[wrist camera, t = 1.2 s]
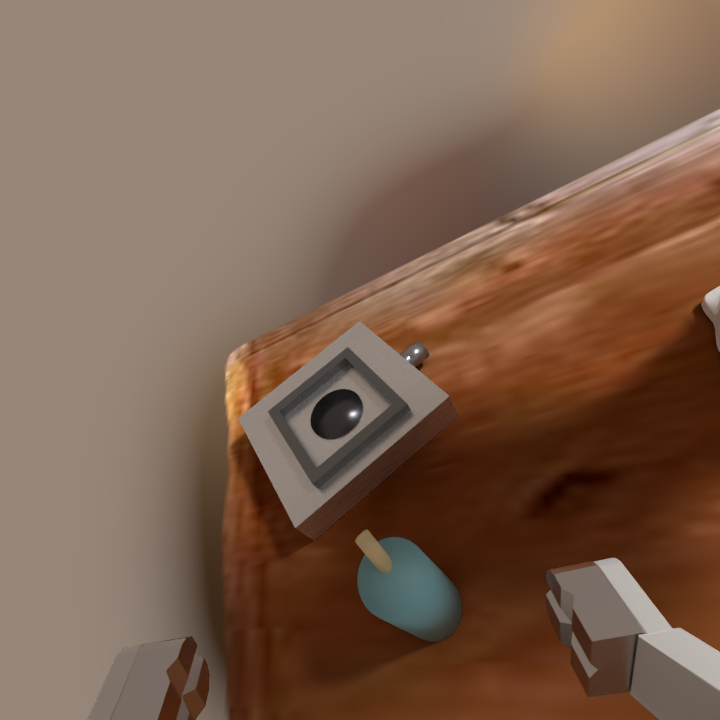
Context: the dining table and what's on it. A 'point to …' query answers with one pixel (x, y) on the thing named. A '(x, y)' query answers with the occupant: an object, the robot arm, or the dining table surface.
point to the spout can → (407, 588)
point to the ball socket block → (344, 425)
